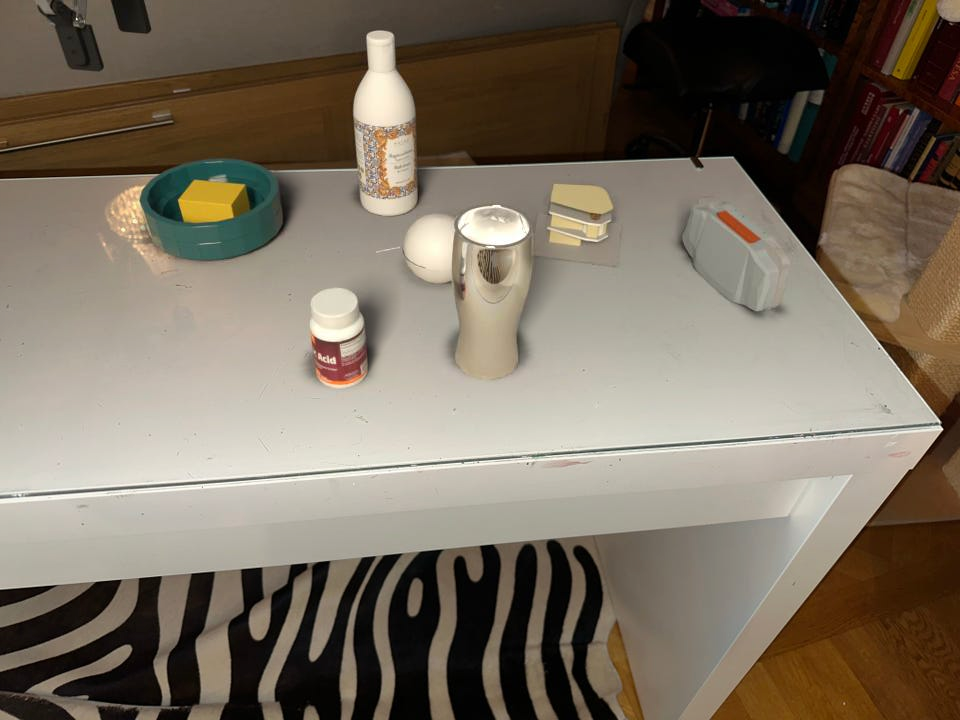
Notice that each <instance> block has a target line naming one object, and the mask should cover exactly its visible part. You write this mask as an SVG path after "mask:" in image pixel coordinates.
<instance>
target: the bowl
mask: <svg viewBox="0 0 960 720" xmlns="http://www.w3.org/2000/svg"><path fill="white" fill-rule="evenodd" d="M194 180H203V181H213V182H224V183H234V184H245V185H246V190H247V195H248V200H249V205H250V210H251V211H248V212H246V213H244V214H241V215H239V216H237V217H234V218H229V219H225V220H221V221H216V222H203V223H190V222H184V220H183V216H182V213H181V209H180V205H179V202H178V199H179V198H180V197H181V196H182V194H183V193H184V192H185V191H186V189H187V188H188V187H189V186H190V184H191V183H192V182H193V181H194ZM139 204H140V207H141V211H142V215H143V217H144V221H145V224H146V226H147V227H146V228H147V230H148V233H149V236H150V238H151V241H152V243H153V245H155V246H156V247H157V248H159V249H160V250H161V251H163V252H164V253H166V254H169V255H172V256H175V257H178V258H181V259H186V260H187V259H188V260H193V261H203V262H205V261H207V262H208V261H209V262H211V261H221V260H222V261H223V260H229V259H234V258H237V257H240V256H243V255H246V254H248V253H250V252H252V251H255V250H257V249H258V248H260V247H262V246H264V245H265V244H267V243H268V242H269V241H270V240H271V239H273V238H274V237H275V236H276V235H278V233H279V231H280V230H281V228H282V226H283V224H284V211H283V205H282V198H281V193H280V186H279V181H278V179H277V178H276V176H275V175H274V173H273V171H271V170H269V169H268V168H266V167H265V166H263V165H260V164H258V163H255V162H251V161H248V160H243V159H236V158H235V159H234V158H226V157H225V158H207V159H201V160H195V161H190V162H185V163H182V164H179V165H177V166H174V167H171V168H169V169H165V170H164V171H163V172H161V173H159V174H157V175H156V176H154V177H153V178H150V180H149V181H148V183H147V184H145V186H144V187H143V188H142V189H141V192H140V196H139Z"/></svg>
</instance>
